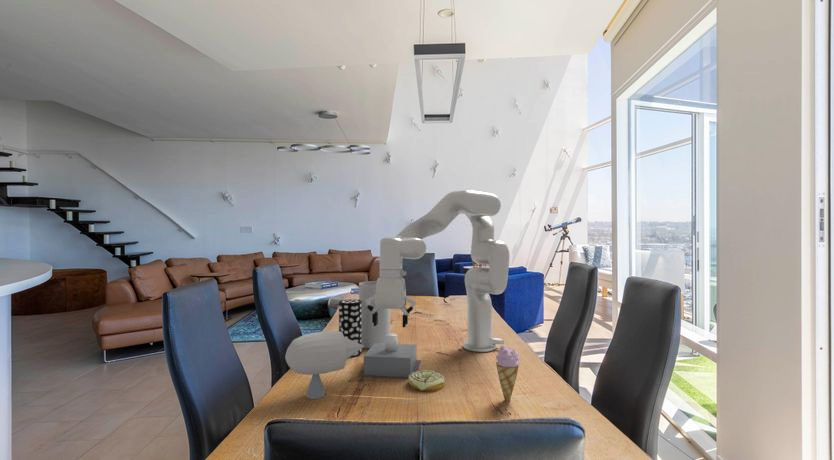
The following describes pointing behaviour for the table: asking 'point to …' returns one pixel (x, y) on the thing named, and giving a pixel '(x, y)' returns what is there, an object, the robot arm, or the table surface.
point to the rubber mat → (392, 376)
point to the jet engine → (319, 357)
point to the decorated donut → (426, 380)
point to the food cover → (390, 358)
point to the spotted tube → (351, 321)
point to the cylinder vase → (370, 331)
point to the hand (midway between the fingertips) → (389, 325)
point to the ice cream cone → (507, 370)
